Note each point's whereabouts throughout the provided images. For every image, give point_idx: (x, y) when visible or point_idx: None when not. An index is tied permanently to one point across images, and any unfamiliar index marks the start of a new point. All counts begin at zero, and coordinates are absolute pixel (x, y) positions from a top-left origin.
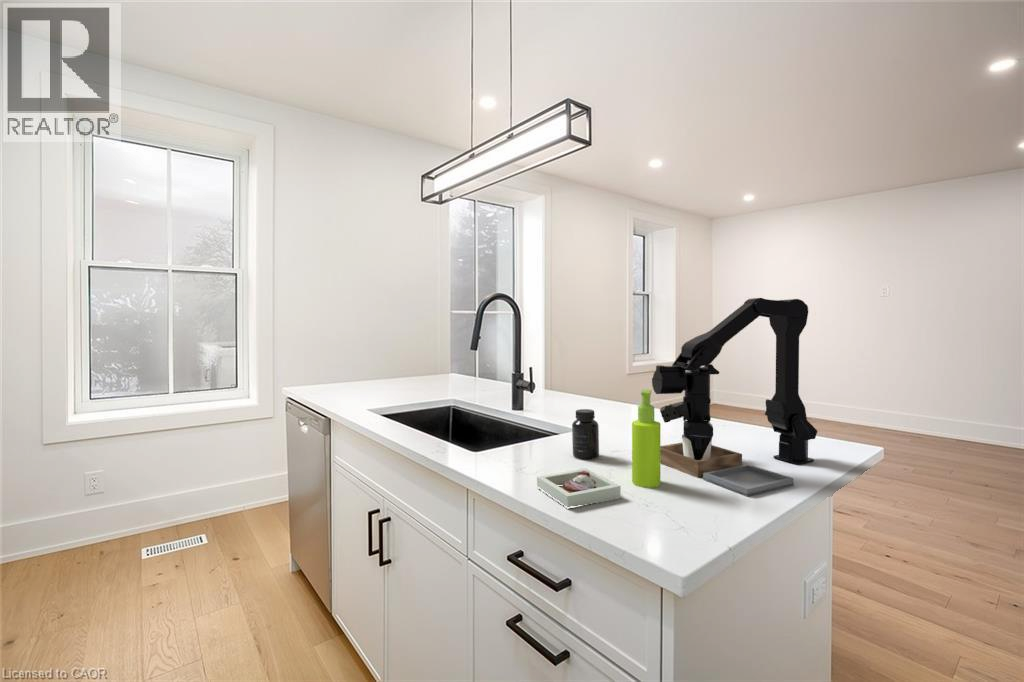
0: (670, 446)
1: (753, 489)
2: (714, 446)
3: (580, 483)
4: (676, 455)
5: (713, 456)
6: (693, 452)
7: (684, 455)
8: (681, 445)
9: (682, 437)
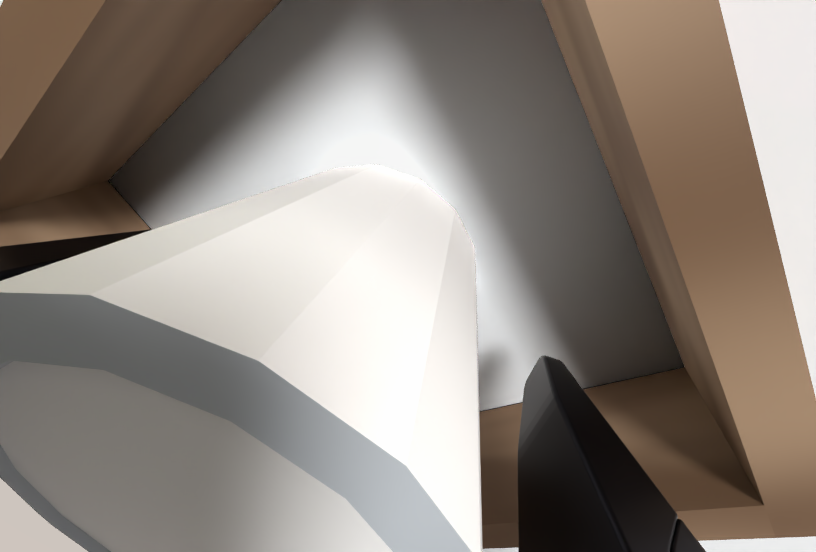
0: (584, 5)
1: None
2: (491, 536)
3: None
4: (15, 5)
5: (480, 439)
6: (12, 248)
7: (311, 183)
8: (673, 271)
9: (80, 280)
